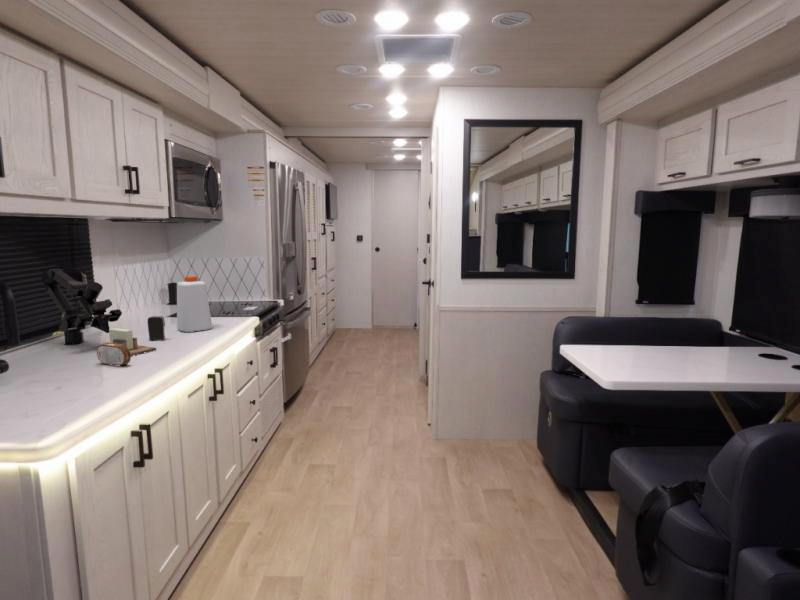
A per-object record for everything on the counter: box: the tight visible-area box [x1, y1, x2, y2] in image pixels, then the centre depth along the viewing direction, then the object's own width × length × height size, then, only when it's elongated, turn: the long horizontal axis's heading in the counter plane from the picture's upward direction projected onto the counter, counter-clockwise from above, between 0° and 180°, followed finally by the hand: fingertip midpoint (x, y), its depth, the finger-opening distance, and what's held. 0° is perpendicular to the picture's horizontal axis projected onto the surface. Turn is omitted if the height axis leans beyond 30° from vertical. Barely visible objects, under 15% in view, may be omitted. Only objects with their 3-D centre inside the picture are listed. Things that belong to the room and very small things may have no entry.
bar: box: [108, 327, 134, 349], centre depth 208 cm, size 11×3×8 cm, turn 64°
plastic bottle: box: [176, 275, 213, 333], centre depth 252 cm, size 15×15×28 cm
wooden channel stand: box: [113, 337, 157, 357], centre depth 207 cm, size 16×14×6 cm
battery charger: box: [147, 315, 166, 341], centre depth 229 cm, size 7×4×11 cm, turn 99°
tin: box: [96, 342, 132, 366], centre depth 187 cm, size 15×3×8 cm, turn 71°
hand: (108, 332), depth 212 cm, fingers closed
